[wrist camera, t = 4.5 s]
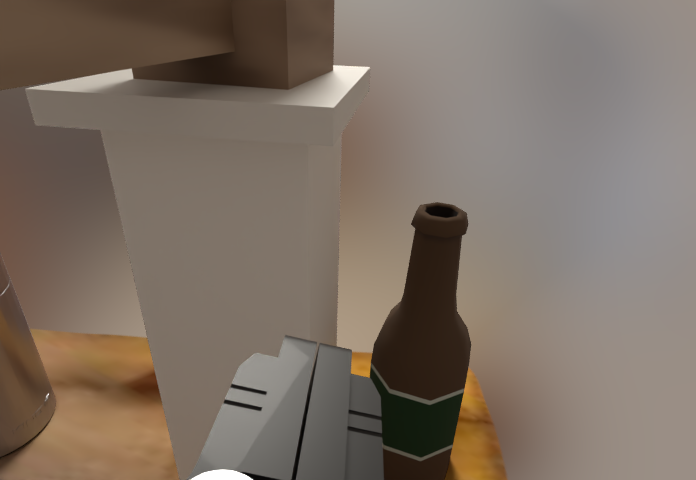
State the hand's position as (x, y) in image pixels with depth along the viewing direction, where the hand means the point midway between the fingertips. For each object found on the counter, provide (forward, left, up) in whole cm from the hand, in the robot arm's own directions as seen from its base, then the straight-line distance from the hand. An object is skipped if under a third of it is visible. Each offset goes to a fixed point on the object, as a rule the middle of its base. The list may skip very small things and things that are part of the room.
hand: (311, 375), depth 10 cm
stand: (-8, +17, -28) cm, 34 cm away
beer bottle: (+4, +20, -28) cm, 35 cm away
